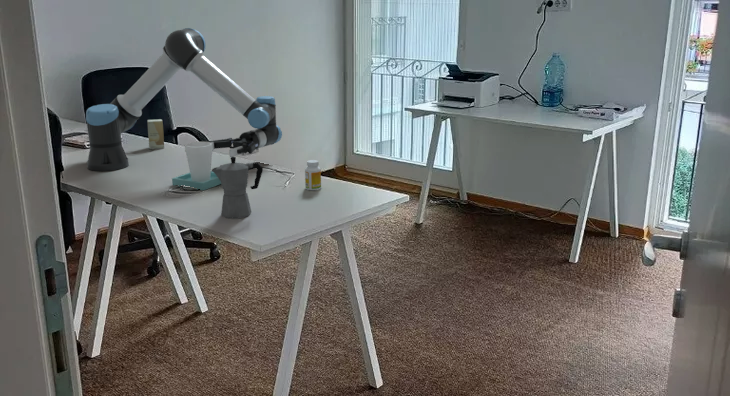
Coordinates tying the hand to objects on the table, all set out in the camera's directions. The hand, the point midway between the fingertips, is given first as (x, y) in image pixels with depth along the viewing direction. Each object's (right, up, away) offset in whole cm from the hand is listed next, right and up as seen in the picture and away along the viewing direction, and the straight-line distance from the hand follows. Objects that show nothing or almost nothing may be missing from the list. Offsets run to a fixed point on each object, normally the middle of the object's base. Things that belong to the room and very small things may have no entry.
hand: (215, 151), depth 248 cm
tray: (-4, -12, -4) cm, 13 cm away
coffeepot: (+16, -22, -37) cm, 46 cm away
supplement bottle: (+36, -14, -11) cm, 40 cm away
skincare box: (-36, +5, +49) cm, 61 cm away
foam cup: (-4, -11, -4) cm, 12 cm away
